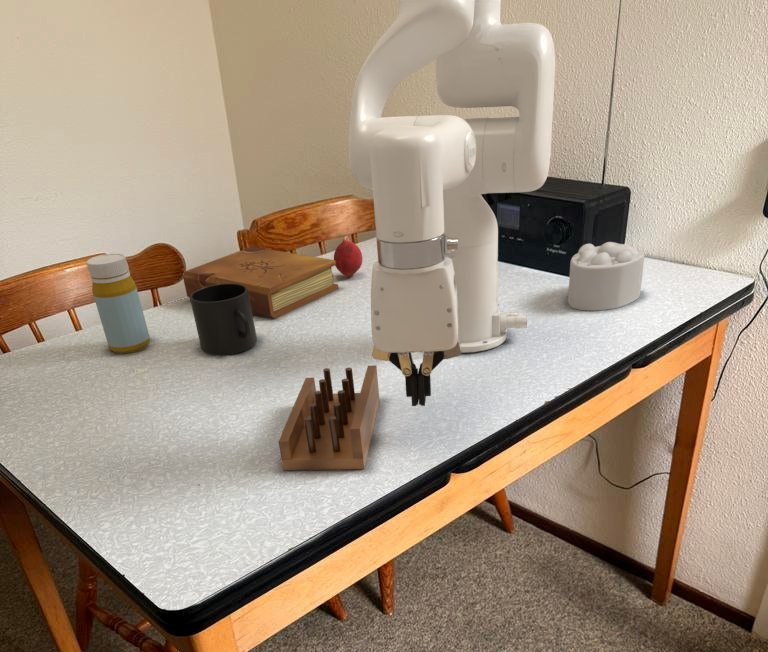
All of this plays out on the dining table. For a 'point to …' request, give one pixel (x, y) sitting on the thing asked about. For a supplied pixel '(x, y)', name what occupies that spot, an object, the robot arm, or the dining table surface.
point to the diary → (268, 278)
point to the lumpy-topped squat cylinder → (605, 276)
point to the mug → (224, 318)
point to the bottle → (118, 303)
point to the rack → (331, 424)
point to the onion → (348, 257)
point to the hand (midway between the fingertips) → (419, 400)
